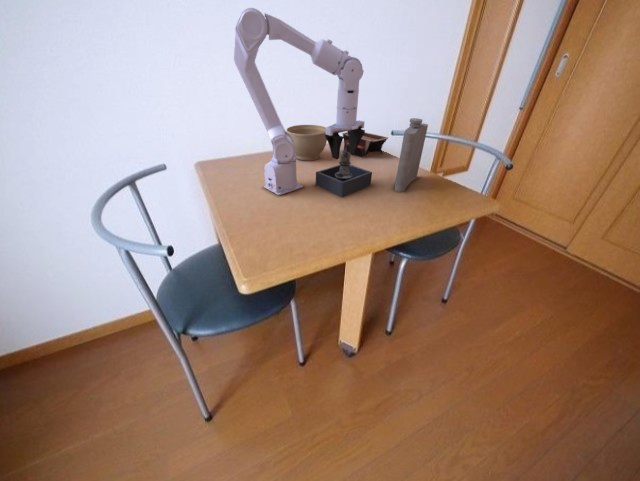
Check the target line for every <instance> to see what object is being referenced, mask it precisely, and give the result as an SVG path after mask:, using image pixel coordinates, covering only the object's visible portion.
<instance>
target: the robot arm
mask: <svg viewBox="0 0 640 481" xmlns="http://www.w3.org/2000/svg"><path fill="white" fill-rule="evenodd" d="M267 36H268V41H279V40H280V41H283V42H284V43H285V44H288V45H290V46H292V47H294V48H296V49H298V50H300V51H302V52H304V53H306V54H307V55H309V56H310V58H311V62H312V64H313V65H315V66H316V67H318V68H320V69H322V70H324V71H325V72H327V73H329V74H331V75H333V76H337V78H338V86H337V96H336V98H337V99H336V115H335V116H336V117H335V123H333V124H331V125H329V126H325V127H326V133H325V137H326V139H327V143H328V145H329V150H330V154H331V158H332V159H334V160H340V155H341V146H342V143H343V141H344V137H343V135H340V133H341V134H342V133H346V132H348V138H349V152H350V153H351V154H350V155H354V154H355V153H356V150H357V147H358V144H359V142H360V140H361V138H362V136H363V135H364V134H365V132H366V129H365V121H364V120H357V118H358V116H357V115H358V106H359V93H360V90H359V89H360V81H361V79H362V77H363V75H364V69H363V64H362V63H361V60H360V59H359V58H358V57H354V56H351V55H349V53H350V52H349V51H348V50H347V49H345V50H342V49H341V48H339V47H337V46H336V45H334V44H333V41H332V40H331V39H329V38H326V40H325V39H324V38H322V39H319V40H317V41H315V40H313V39H312V38H310V37H309V36H306V35H305V34H304V33H302V32H301V31H300V30H298V29H296V28H294V27H293V26H292V25H290V24H288V23H286V22H285V21H284V20H281V19H280V18H278V17H276V16H273V15H271V14H268V13H265V12H264V13H263V12H262V11H260V10H259V9H257V8H255V7H248V8H245V9H243V10H242V11H241V13H240V14H239V16H238V18H237V21H236V24H235V26H234V46H233V47H234V48H233V50H234V51H233V62H234V64H235V67H236V69H237V70H238V73H239V75H240V77H241V79H242V81H243V84H244V85H245V88H246V90H247V92H248V94H249V96H250V98H251V100H252V102H253V104H254V107H255V109H256V111H257V113H258V115H259V117H260V120H261V121H262V124H263V125H264V127H265V130H266V132H267V135H268V138H269V140H270V143H271V145H272V154H273V155H272V156H271V160H270V161H269V162H267V163H265V164H264V167H263V174H264V184H265V185H264V186H263V188H264V189H266V190H267V191H269V192H272V193H273V194H275V195H277V196H282V195H284V194H287V193H290V192H294V191H296V190H299V189H302V188H303V186H304V185H303V184H300V183H298V179H297V178H298V177H297V157H296V154H295V147H294V145H293V139H292V137H291V136H290V135H289V134H288V133H287V132H286V129H285V127H284V124H283V123H282V120H281V119H280V116H279V114H278V111H277V109H276V107H275V105H274V103H273V100H272V98H271V96H270V94H269V91H268V88H267V87H266V84H265V82H264V79H263V77H262V75H261V72H260V70H259V69H258V66H257V64H256V59H257V56H258V52H259V48H260V46H261V45H262V44H263V42H264V41H265V39H266V38H267Z"/></svg>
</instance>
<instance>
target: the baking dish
mask: <svg viewBox="0 0 640 481" xmlns="http://www.w3.org/2000/svg"><path fill="white" fill-rule="evenodd" d="M341 134H342V137H344V138H343V142H344V143H343V151H344V150H345V148H347V151H348V152H349V138H348V132H347V131H345V132H341ZM388 139H389V137H388V136H383V135H379V134H375V133H369V132H366V131H365V134H364V135H363V136H362V138H361V140H360V142H359V144H358V147H357V150H356V153H355V154H353V155H355V156H360V157H365V158H366V156H367V155H368V153H381V154H382V153H383V151H382V148H383V145H384V144H385V143H386V141H387V140H388ZM350 155H352V154H351V153H350Z"/></svg>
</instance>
